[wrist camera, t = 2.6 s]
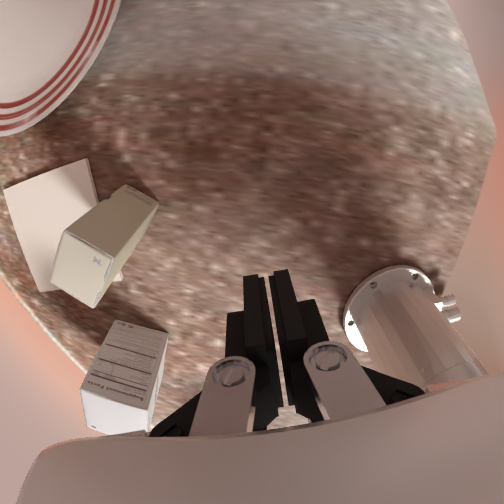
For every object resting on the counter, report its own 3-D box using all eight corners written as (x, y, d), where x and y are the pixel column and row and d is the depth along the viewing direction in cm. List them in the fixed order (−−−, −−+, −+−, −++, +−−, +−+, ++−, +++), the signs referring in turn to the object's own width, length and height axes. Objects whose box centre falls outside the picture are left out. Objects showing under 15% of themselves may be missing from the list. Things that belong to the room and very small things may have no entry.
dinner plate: (15, 180, 29) (-1, 187, 26) (-59, 56, 20) (-73, 56, 17) (187, 2, 23) (181, -10, 20) (71, -94, 14) (60, -104, 11)
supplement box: (164, 371, 40) (146, 447, 29) (113, 357, 39) (84, 427, 28) (171, 332, 38) (149, 411, 26) (114, 316, 37) (77, 389, 25)
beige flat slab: (87, 157, 29) (85, 158, 28) (123, 277, 34) (121, 280, 34) (6, 188, 29) (3, 190, 29) (42, 290, 35) (39, 292, 34)
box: (125, 181, 30) (62, 223, 18) (162, 202, 31) (116, 256, 19) (106, 224, 32) (46, 282, 20) (140, 244, 33) (93, 312, 21)
